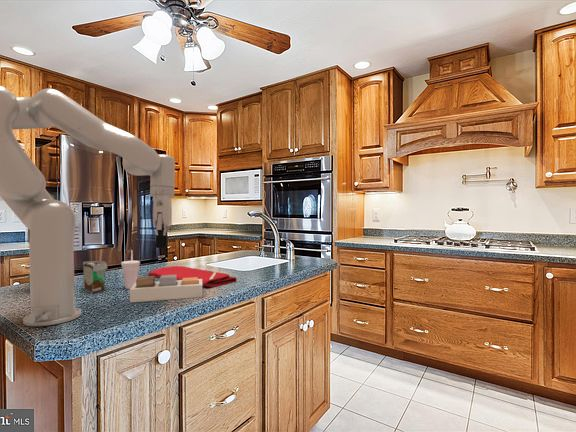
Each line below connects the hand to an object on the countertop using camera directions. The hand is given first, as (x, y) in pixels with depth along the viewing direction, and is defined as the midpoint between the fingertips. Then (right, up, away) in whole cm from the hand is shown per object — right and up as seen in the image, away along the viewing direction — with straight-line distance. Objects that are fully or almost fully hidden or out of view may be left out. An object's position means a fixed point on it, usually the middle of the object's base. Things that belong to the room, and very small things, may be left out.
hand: (161, 247), depth 108 cm
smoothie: (-16, -16, +13) cm, 26 cm away
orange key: (+9, -14, +3) cm, 17 cm away
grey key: (+2, -13, +1) cm, 13 cm away
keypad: (+2, -16, +1) cm, 17 cm away
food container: (-27, -17, +10) cm, 33 cm away
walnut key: (-5, -13, -1) cm, 14 cm away
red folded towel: (+1, -17, +29) cm, 33 cm away
